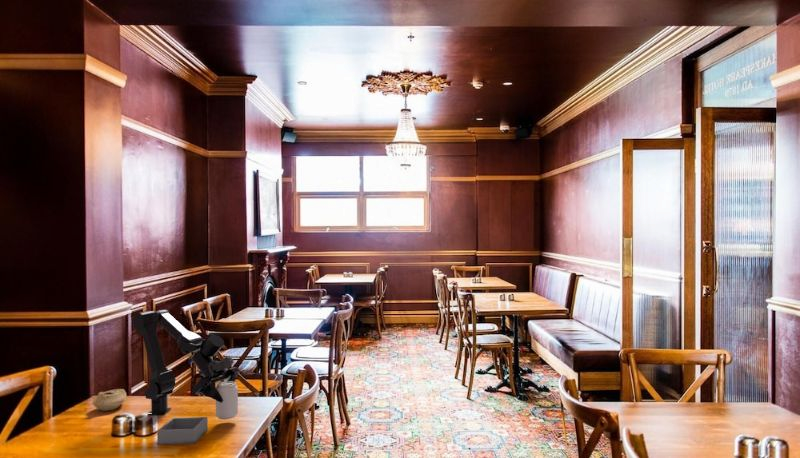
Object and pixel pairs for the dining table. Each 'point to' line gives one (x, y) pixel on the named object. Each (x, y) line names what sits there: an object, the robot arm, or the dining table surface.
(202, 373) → the robot arm
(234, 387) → the can
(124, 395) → the oil lamp
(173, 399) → the dining table surface
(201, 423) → the open box
